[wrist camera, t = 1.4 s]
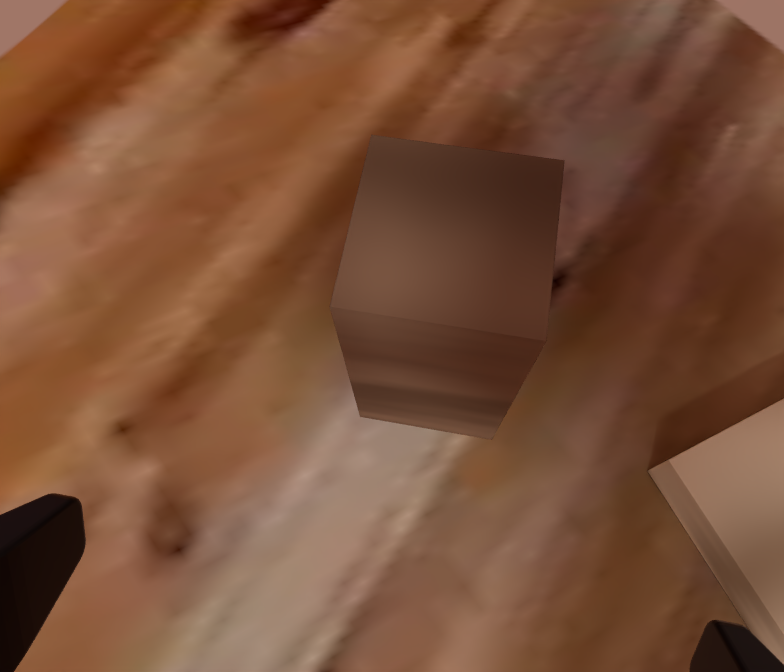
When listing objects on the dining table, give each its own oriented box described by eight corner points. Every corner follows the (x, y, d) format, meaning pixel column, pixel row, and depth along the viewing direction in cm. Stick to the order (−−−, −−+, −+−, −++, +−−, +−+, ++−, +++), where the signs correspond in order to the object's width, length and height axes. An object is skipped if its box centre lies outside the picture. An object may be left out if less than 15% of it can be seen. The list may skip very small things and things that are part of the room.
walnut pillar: (491, 439, 23) (546, 341, 14) (360, 416, 24) (329, 306, 14) (506, 318, 25) (564, 160, 16) (384, 299, 26) (371, 134, 16)
